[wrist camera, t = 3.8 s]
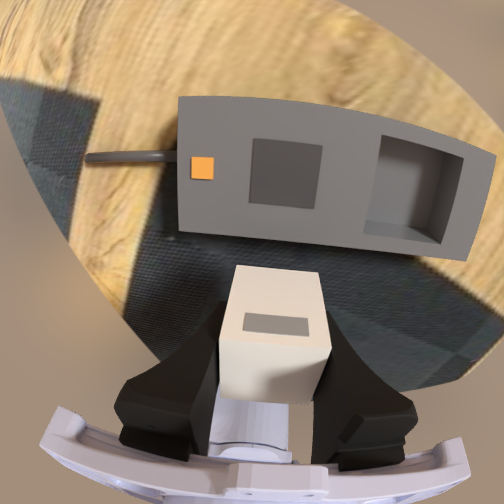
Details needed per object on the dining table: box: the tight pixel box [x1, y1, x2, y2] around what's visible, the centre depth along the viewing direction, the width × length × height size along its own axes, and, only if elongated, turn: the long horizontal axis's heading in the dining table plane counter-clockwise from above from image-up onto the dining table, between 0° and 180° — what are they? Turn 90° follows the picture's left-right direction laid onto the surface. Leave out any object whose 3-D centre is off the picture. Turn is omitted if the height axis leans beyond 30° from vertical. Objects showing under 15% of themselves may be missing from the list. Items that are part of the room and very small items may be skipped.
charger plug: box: [219, 265, 332, 405], centre depth 13 cm, size 4×4×5 cm
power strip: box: [85, 96, 496, 261], centre depth 16 cm, size 29×8×4 cm, turn 86°
